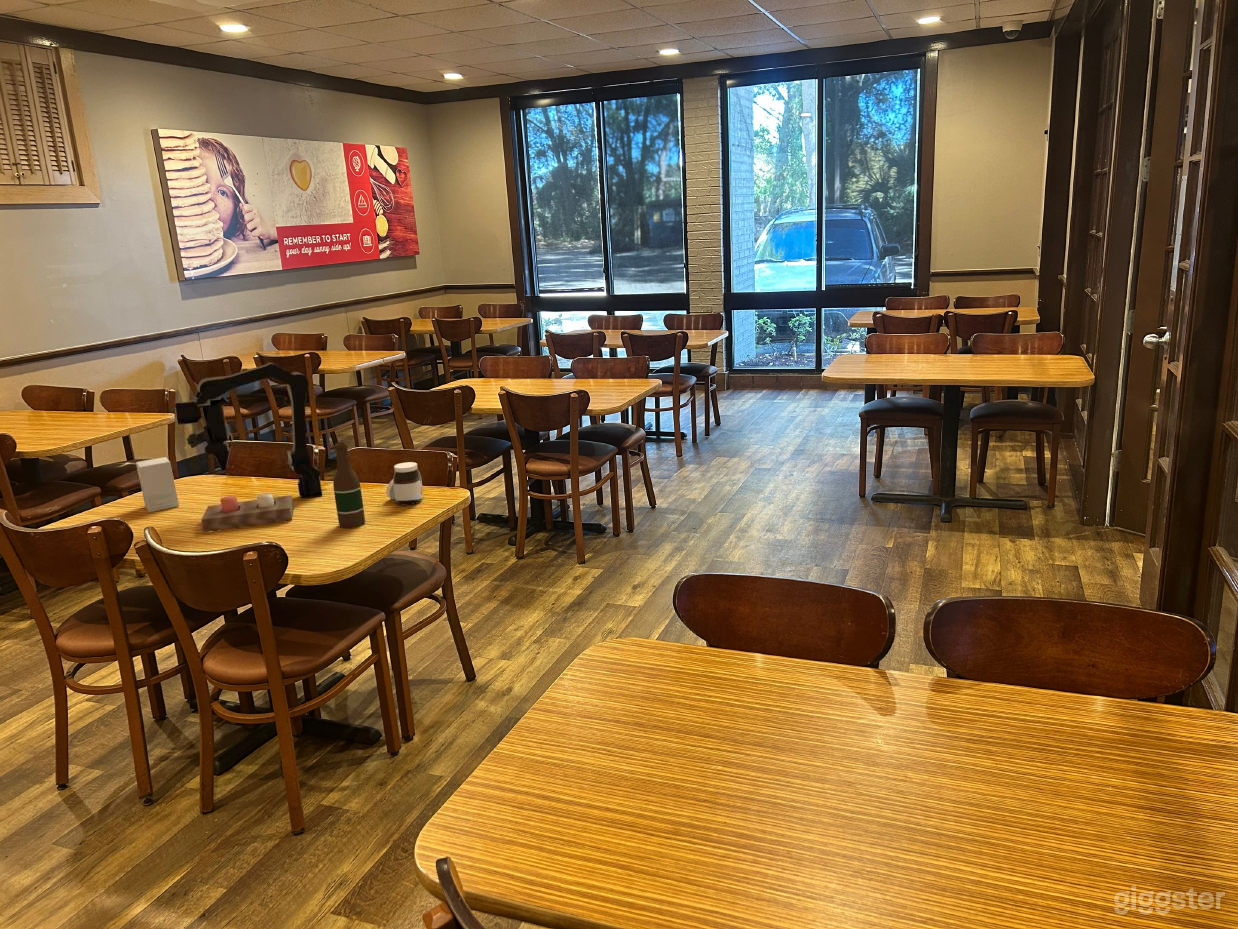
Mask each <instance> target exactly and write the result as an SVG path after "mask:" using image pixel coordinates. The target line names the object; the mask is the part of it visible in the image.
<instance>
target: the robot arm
mask: <svg viewBox="0 0 1238 929" xmlns="http://www.w3.org/2000/svg"><path fill="white" fill-rule="evenodd" d="M268 378H274V379H276V380H278V381H279V382H282V383H284V384H286V389H287V392H288V396H289V399H290V403H291V424H292V448H291V450H287V451H286V453H287V457H288V458H287V464H288V465H289V467H290V468H291V469H292V471H293V472H294V473H295V474H296V475H299V477H298V482H297V487H298V494H299V496H300V499H308V498H309V499H310V498H316V497H322V496H323V493H322V491H324V490H323V489H322V482H321V476H320V475H321V471H320V470H319V469H318V468H317V467H316V466H315V465H314V464H312V463H313V462H312V460H311V455H310V452H309V449H308V448H309V447H308V446H307V444H308V443H307V440H308V439H307V421H306V420H307V419H306V417H307V416H306V400H307V396H308V394H309V393H308V392H309V385H310V382H309V379H308V378H307V377H306V375H304V374H303V373H300V372H296V371H294V372H293V371H292V372H291V371H288V370H286V369H284V368H282V367H281V366H278V365H277V364H275V363H274V362H267V363H266V364H263V365H260V366H256V367H253V368H250V369H247V370H244V371H240V372H236V373H233V374H230V375H225V376H223V375H222V376H213V377H206V378H203V379H201V380H200V381H199V383H198V386H197V389H198V391H197V393H196V395H195V396H194V397H193V400H187V401H175V402H174V403H173V404H174V410H175V412H174V413H175V419H176V424H177V426H183V425H191V424H199V421H201V419H202V415H203V420H204V426H203V429H201V430H199V431H196V432H192V433H190V434H188V436H187V437H186V441H187V445H189V446H190V448H191V449H194V448H195V447H197V446H199V445H201V444H203V443H205V444H206V445H205V446H204V452H205V453H204V454H205V455H207V456H208V455H213V456H215V458H216V461H217V463H218V465H219V467H220V469H221V471H226V470H227V466H228V463H229V457H230V453H231V449H232V444H229V443H228V442H227V441H230V442H233V441H234V438H233V433H231V432H230V431H228V428H227V425H228V422H227V420H226V416H225V410H224V405H228V404H230V401H229V400H227V399H226V398H224V396H223V395H225V394H226V393H228V392H229V391H231V390H233V389H236V388H239V387H242V386H246V385H249V384H252V383H255V382H256V383H257V382H259V381H262V380H265V379H268ZM201 408H202V411H201ZM201 412H202V413H201Z"/></svg>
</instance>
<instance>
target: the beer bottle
mask: <svg viewBox="0 0 1238 929" xmlns="http://www.w3.org/2000/svg"><path fill="white" fill-rule="evenodd" d="M348 448H349V445H348V443H347V442H345V441H344V442H337V443H334V449H335V452H336V453H335V454H336V464H337V465H336V466H337V467H336V468H337V469H336V474H335V475H334V477H333V482H332V485H333V494H334V502H335V508H336V514H337V520H338V525H339V528H341V529H347V528H349V529H354V528H359V527H361V526H363V525H365V524H366V519H365V518H366V517H365V516H366V515H365V509H364V503H363V495H362V487H361V482H360V479H359V477H358V476H357V474H356V472H355V471H354V470H353V468H352V466H351V461H350V455H349V450H348Z"/></svg>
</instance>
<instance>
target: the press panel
mask: <svg viewBox="0 0 1238 929" xmlns="http://www.w3.org/2000/svg"><path fill="white" fill-rule="evenodd" d="M273 500H274V506H270V507H263V508H259V507H258V501H257V499H253V500H245V501H237V504H238V509H239V511H233V512H225V513H223V512H222V507H221V504H214V505H208V506H207V508H206V509H205V511H204V513H203V516H202V517H201V519H200V520H201V525H202V532H203V533H204V532H207V533H210V532H209V531H214V532H219V531H218V530H221V531H226V529H229V530H234V529H233V528H236V529H241V528H242V527H243V528H248V527H249V526H250V527H256V526H255V525H258V526H263V525H264V526H265V525H270V524H278V522H279V523H285V522H284V521H287V522H291V521H293V516H294V511H293V510H294V509H295V507H294V506H295V505H294V499H293V495H292V494H291V495H284V496H275V497H274V496H273ZM250 527H249V528H250Z"/></svg>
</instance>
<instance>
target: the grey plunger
mask: <svg viewBox="0 0 1238 929" xmlns="http://www.w3.org/2000/svg"><path fill="white" fill-rule="evenodd" d="M273 494H274V493H273ZM273 494H272V493H262V494H259V495H257V496H256V498H257V499H256V500H257V501H258V507H259V508H263V507H270V506H274V500H273V498H274V495H273Z"/></svg>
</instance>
